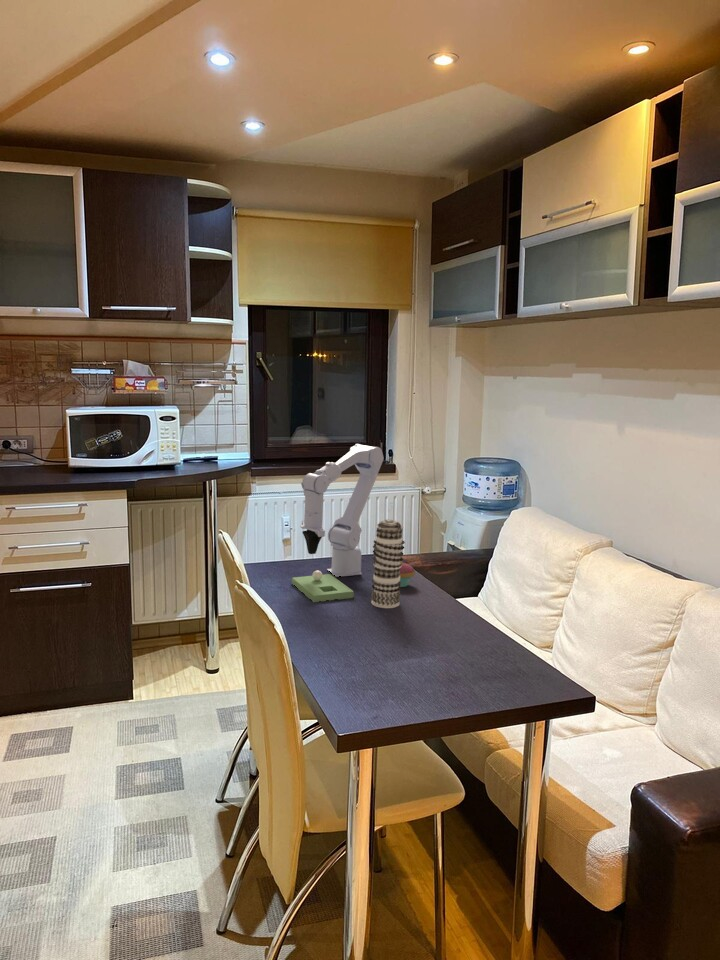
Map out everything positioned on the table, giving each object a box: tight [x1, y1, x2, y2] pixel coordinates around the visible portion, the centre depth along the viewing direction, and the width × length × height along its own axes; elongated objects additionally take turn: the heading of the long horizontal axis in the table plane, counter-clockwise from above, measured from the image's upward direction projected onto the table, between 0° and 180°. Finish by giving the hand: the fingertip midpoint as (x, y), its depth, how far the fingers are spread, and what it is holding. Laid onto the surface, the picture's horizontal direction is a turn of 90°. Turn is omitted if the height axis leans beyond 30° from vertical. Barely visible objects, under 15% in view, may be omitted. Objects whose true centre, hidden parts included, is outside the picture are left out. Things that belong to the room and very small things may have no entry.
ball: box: [311, 570, 324, 581], centre depth 225 cm, size 3×3×3 cm
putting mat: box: [291, 573, 354, 603], centre depth 222 cm, size 13×18×2 cm
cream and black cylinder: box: [370, 519, 406, 609], centre depth 212 cm, size 9×9×25 cm
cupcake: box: [400, 561, 416, 588], centre depth 231 cm, size 9×8×12 cm
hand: (312, 553), depth 229 cm, fingers closed
